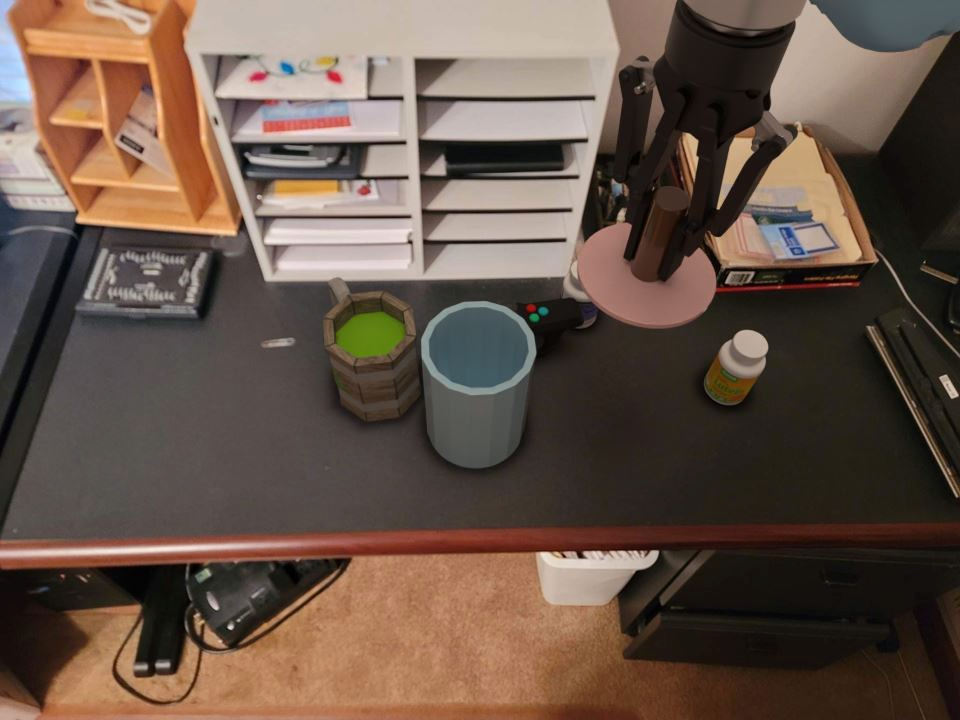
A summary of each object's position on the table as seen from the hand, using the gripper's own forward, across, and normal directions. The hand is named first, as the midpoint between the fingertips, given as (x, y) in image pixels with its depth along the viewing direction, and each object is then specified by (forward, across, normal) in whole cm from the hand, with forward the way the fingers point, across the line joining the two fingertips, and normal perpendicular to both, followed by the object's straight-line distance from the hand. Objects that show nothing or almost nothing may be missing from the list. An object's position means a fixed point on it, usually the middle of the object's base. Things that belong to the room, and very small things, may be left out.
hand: (651, 261), depth 63 cm
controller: (+28, +12, -2) cm, 31 cm away
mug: (+28, +26, +14) cm, 40 cm away
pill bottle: (+28, +11, -11) cm, 32 cm away
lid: (+1, 0, 0) cm, 2 cm away
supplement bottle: (+28, -10, -14) cm, 32 cm away
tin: (+28, +11, +11) cm, 32 cm away
